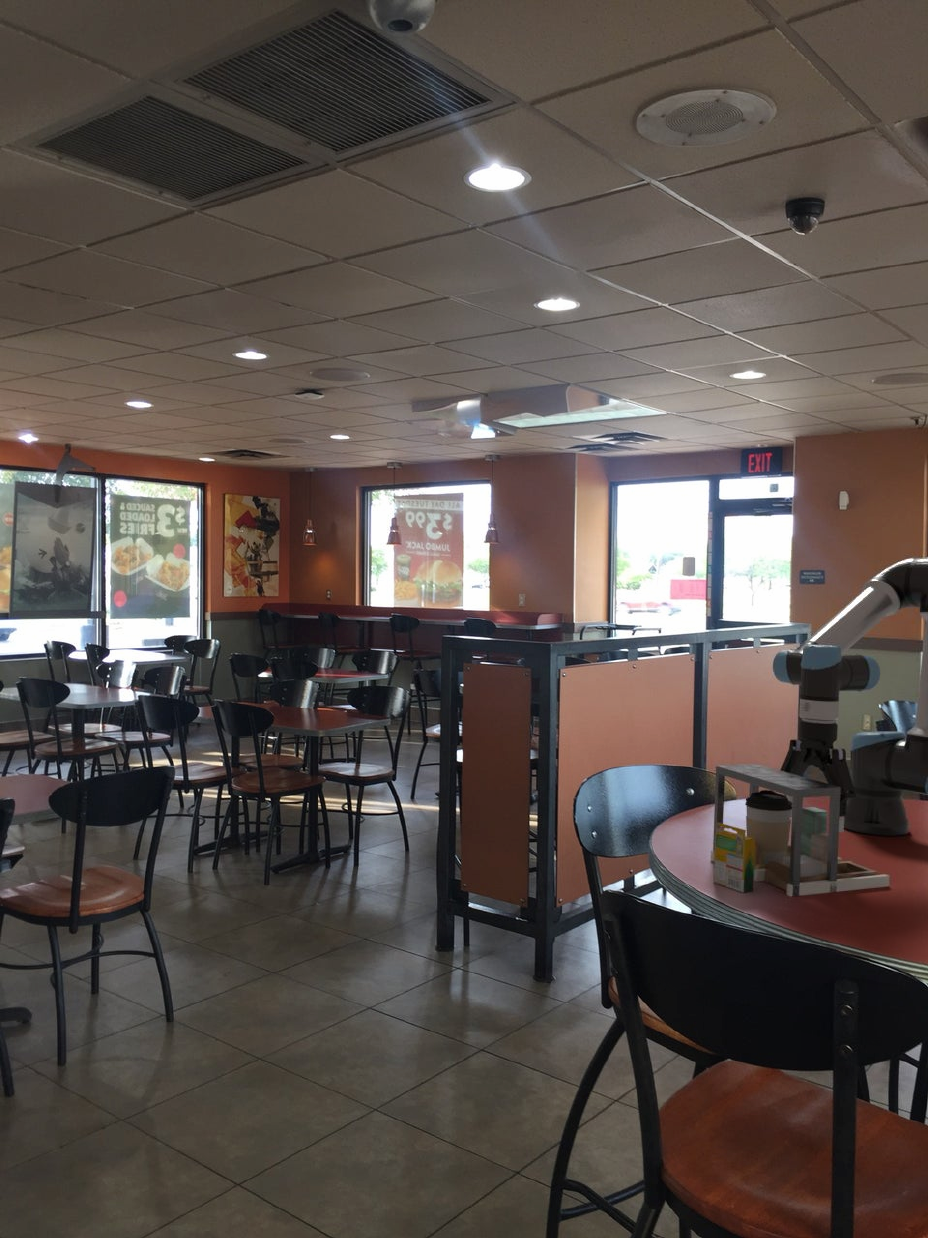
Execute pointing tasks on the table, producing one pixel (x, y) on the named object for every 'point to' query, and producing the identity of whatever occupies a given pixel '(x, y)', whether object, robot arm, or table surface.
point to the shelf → (798, 790)
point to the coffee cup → (769, 823)
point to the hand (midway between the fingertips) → (813, 824)
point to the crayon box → (734, 858)
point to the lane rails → (828, 883)
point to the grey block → (807, 866)
